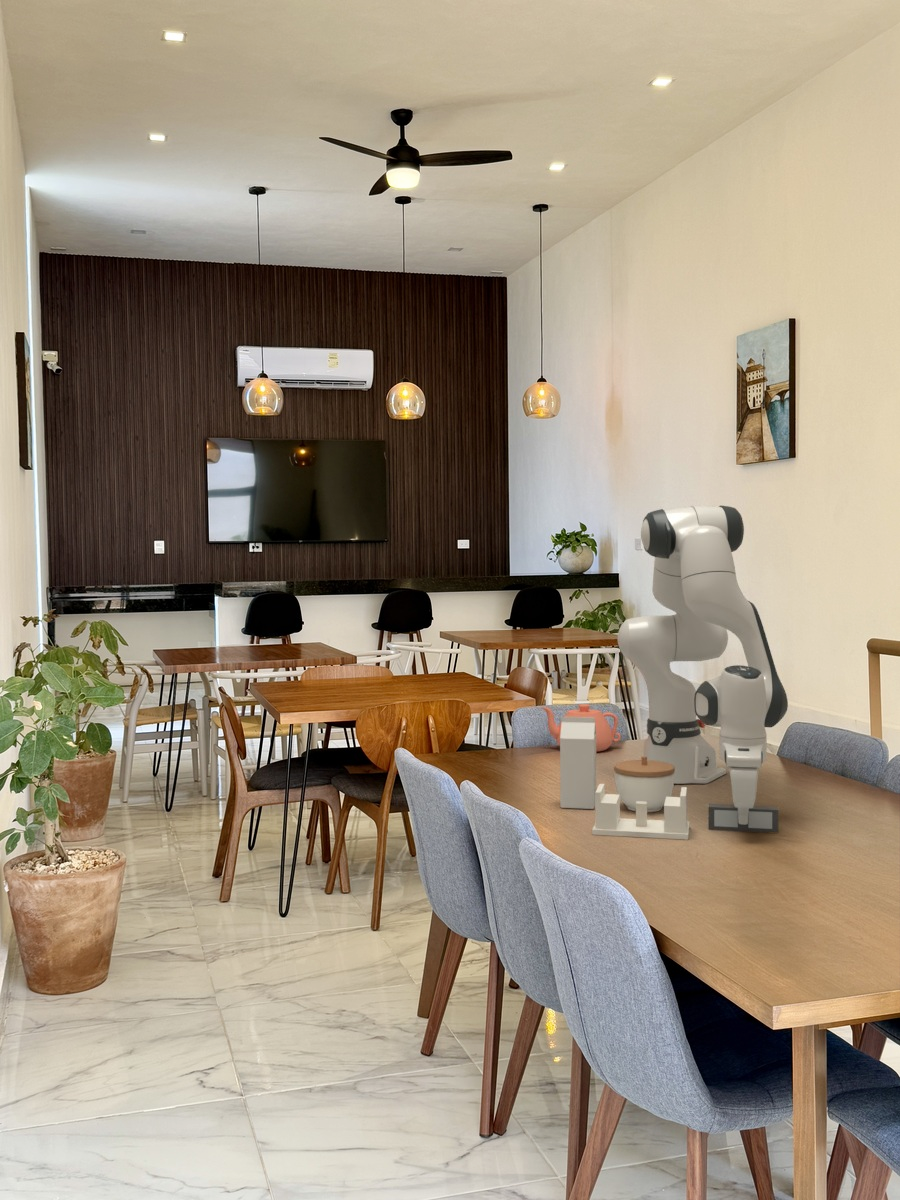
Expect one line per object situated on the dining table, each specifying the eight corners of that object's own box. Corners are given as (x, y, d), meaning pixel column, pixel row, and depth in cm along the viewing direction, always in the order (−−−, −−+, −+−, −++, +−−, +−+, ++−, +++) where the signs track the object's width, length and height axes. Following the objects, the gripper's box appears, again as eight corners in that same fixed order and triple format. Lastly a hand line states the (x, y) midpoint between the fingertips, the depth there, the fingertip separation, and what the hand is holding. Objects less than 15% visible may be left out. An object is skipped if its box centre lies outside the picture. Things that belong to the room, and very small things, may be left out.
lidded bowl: (638, 818, 221) (638, 764, 220) (602, 805, 232) (602, 754, 232) (687, 811, 227) (687, 758, 226) (649, 799, 238) (649, 749, 237)
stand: (592, 834, 208) (592, 793, 208) (597, 822, 218) (597, 782, 218) (688, 839, 204) (688, 797, 204) (689, 826, 214) (689, 786, 213)
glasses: (708, 829, 211) (708, 807, 211) (708, 826, 214) (708, 803, 214) (778, 833, 208) (778, 810, 208) (777, 829, 211) (777, 806, 211)
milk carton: (594, 809, 228) (593, 720, 228) (560, 808, 230) (559, 719, 229) (596, 802, 235) (596, 715, 235) (563, 801, 237) (563, 714, 236)
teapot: (543, 755, 291) (543, 708, 291) (538, 744, 307) (538, 701, 306) (625, 754, 291) (625, 708, 291) (616, 744, 307) (616, 700, 306)
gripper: (725, 740, 221) (725, 807, 222) (726, 759, 202) (726, 833, 202) (757, 741, 220) (757, 809, 221) (761, 760, 200) (761, 834, 201)
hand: (742, 820), depth 211 cm, fingers closed on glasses, 3 cm apart
